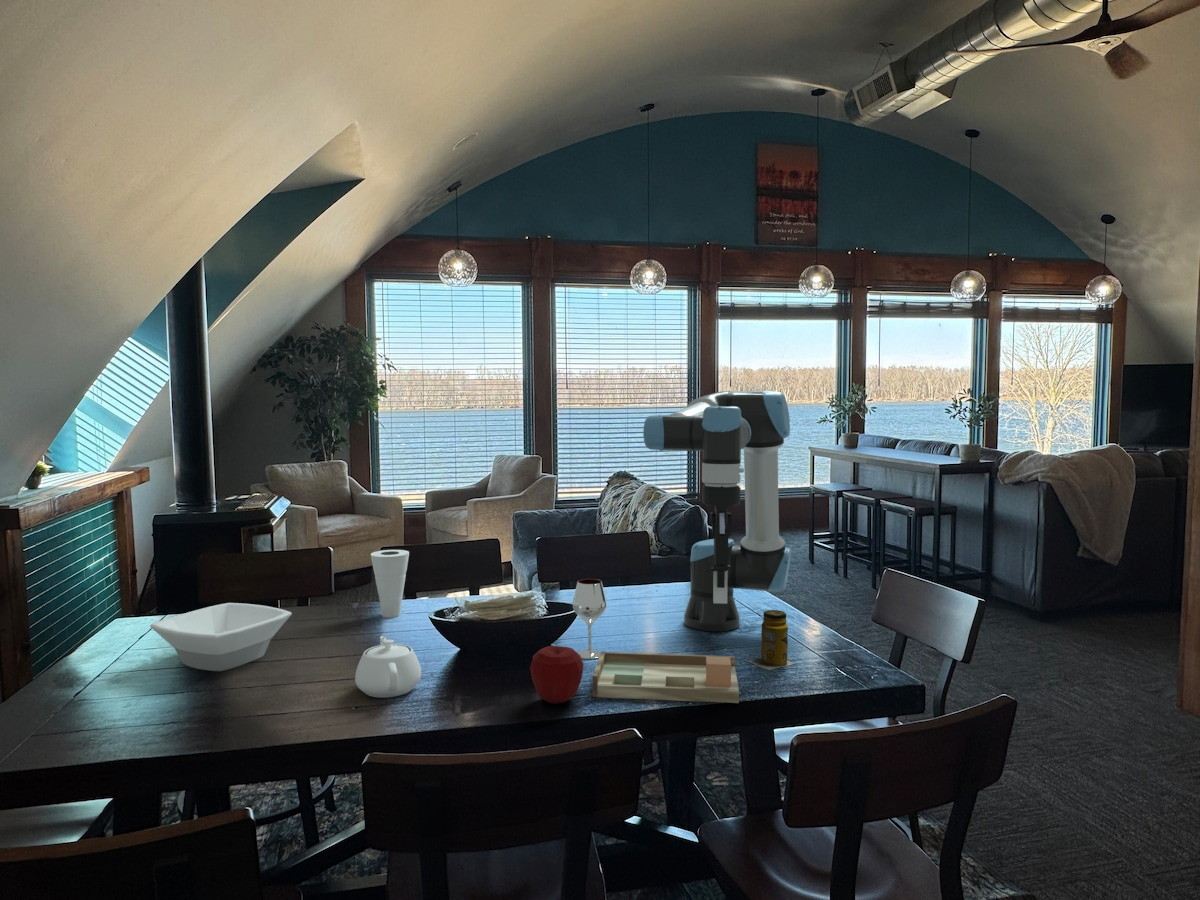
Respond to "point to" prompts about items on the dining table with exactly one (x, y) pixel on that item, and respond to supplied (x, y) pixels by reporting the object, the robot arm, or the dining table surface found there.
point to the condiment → (773, 641)
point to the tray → (659, 678)
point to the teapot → (388, 670)
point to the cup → (390, 579)
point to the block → (718, 671)
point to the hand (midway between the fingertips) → (720, 602)
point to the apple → (556, 673)
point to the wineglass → (589, 608)
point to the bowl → (222, 634)
